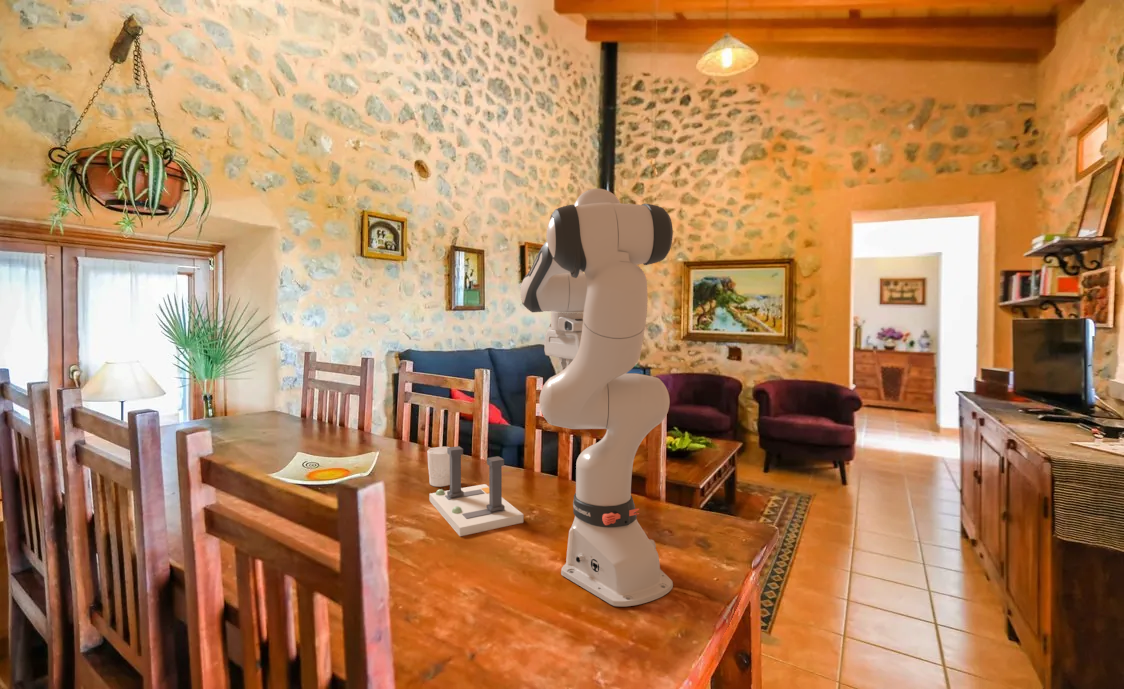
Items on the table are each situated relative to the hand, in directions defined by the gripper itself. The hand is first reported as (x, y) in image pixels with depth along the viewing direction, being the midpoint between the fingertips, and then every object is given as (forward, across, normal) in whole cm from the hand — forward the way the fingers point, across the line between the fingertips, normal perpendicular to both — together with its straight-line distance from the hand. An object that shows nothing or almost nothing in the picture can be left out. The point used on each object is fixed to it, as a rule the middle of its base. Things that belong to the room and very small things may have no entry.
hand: (567, 375), depth 138 cm
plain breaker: (+32, +3, -22) cm, 39 cm away
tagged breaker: (+32, -11, -28) cm, 43 cm away
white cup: (+34, -29, -26) cm, 52 cm away
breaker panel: (+34, -4, -25) cm, 42 cm away
